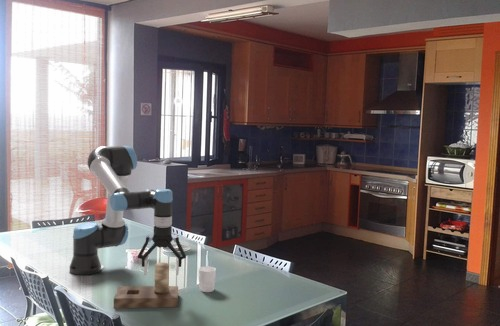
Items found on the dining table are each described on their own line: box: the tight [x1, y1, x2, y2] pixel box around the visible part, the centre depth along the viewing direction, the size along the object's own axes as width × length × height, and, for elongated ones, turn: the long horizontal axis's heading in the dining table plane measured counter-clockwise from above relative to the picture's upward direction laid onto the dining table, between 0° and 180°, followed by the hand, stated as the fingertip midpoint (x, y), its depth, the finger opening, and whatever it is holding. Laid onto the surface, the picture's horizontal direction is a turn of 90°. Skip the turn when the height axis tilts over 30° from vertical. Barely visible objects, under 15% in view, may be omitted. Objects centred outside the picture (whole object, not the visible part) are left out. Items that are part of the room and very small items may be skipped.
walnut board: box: [113, 285, 179, 309], centre depth 213 cm, size 26×14×4 cm, turn 97°
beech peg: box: [154, 262, 170, 295], centre depth 213 cm, size 6×6×16 cm
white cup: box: [198, 265, 217, 293], centre depth 229 cm, size 8×8×10 cm
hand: (161, 274), depth 213 cm, fingers open, 13 cm apart
